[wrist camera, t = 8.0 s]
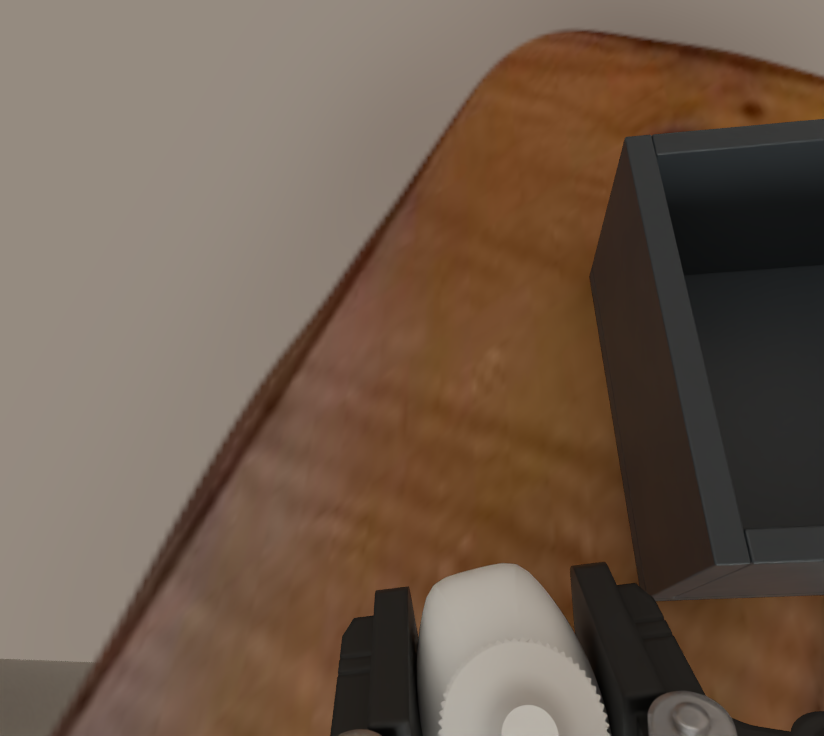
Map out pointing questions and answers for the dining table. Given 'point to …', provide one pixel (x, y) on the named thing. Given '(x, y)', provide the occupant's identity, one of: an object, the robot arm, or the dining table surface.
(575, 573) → the robot arm
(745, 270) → the bin
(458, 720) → the eye dropper bottle
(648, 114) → the dining table surface
